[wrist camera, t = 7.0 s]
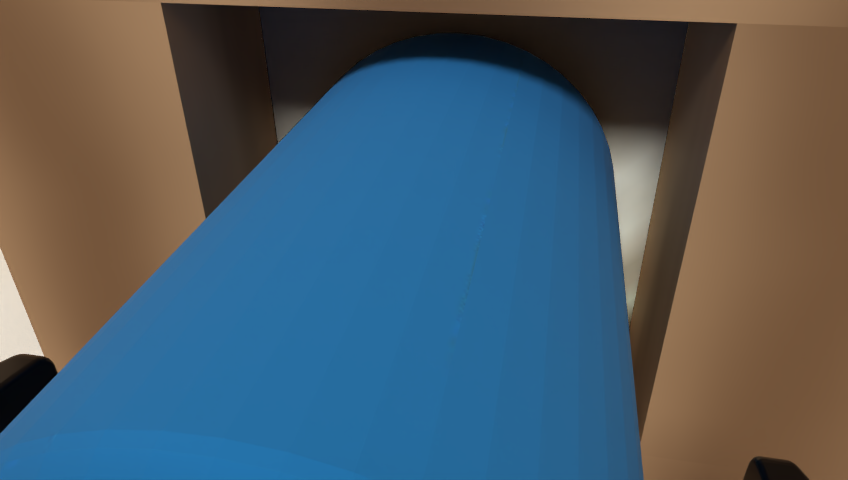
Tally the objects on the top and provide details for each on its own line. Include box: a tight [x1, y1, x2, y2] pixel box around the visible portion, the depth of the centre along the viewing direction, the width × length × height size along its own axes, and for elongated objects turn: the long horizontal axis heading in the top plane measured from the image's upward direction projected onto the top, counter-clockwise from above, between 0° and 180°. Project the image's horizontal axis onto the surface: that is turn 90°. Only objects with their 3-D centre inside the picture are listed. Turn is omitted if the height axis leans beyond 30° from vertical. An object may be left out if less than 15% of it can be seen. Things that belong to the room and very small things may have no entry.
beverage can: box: [0, 33, 644, 480], centre depth 10 cm, size 6×6×12 cm
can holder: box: [0, 0, 848, 480], centre depth 13 cm, size 18×18×4 cm
